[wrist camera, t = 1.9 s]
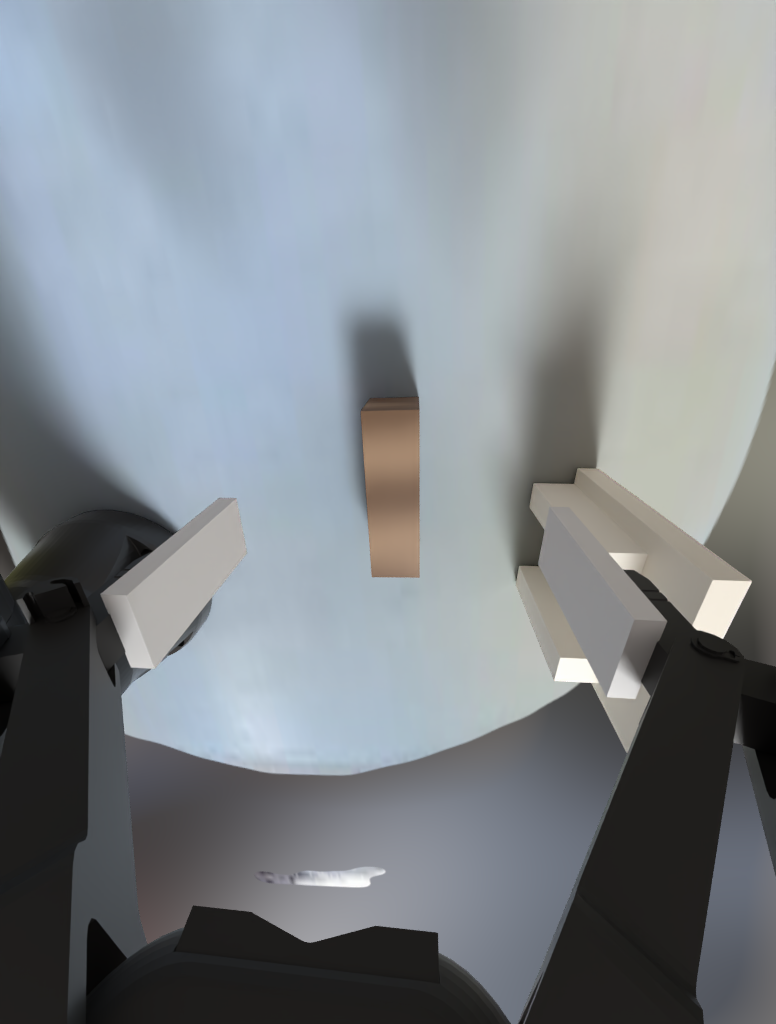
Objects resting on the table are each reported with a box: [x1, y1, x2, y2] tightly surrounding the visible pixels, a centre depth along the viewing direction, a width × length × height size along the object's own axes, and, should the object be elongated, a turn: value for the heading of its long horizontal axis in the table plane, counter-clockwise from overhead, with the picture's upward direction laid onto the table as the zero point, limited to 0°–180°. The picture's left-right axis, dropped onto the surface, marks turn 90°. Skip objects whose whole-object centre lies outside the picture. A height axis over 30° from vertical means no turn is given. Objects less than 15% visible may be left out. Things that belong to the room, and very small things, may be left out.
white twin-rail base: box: [516, 468, 752, 753], centre depth 24 cm, size 4×12×14 cm, turn 0°
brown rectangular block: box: [361, 397, 419, 578], centre depth 27 cm, size 12×4×5 cm, turn 2°
